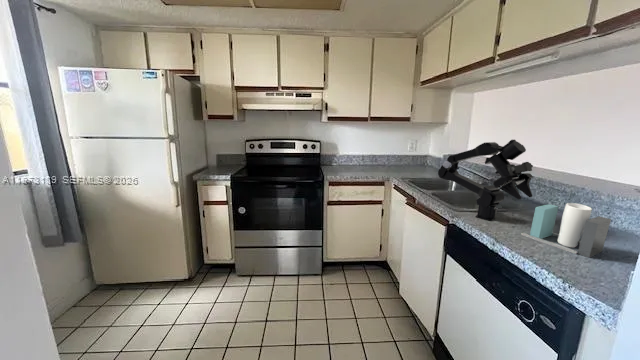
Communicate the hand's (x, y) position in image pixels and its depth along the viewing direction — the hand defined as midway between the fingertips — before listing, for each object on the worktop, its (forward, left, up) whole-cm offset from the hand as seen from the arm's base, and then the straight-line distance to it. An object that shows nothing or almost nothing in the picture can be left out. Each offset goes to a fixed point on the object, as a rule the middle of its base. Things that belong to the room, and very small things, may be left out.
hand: (525, 197), depth 108 cm
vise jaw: (+7, -2, -13) cm, 15 cm away
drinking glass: (+15, -4, -14) cm, 21 cm away
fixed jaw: (+13, -3, -13) cm, 19 cm away
